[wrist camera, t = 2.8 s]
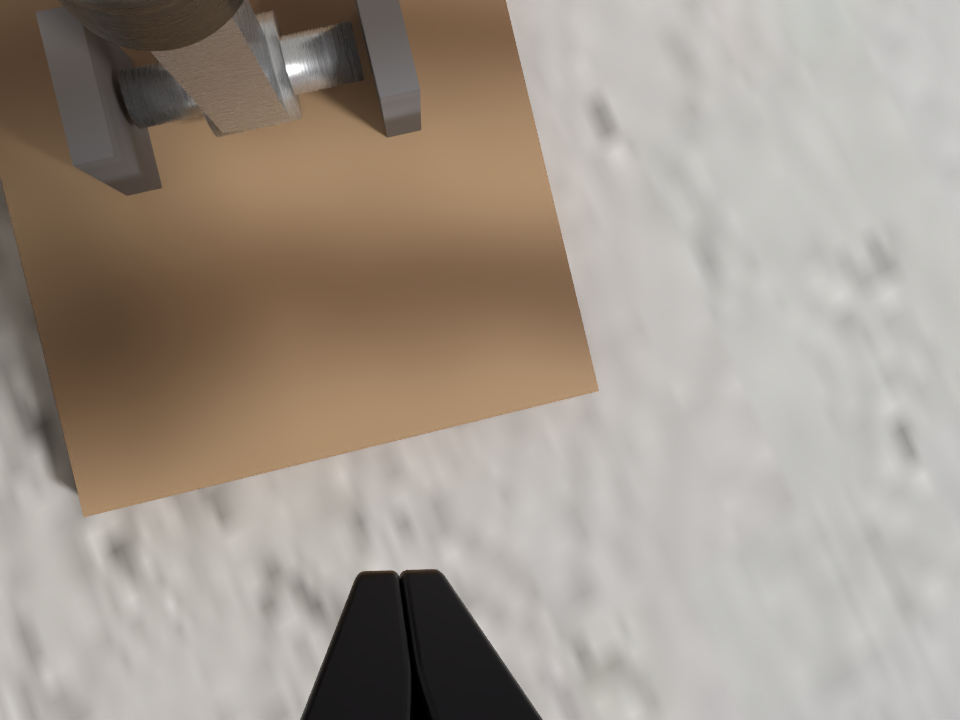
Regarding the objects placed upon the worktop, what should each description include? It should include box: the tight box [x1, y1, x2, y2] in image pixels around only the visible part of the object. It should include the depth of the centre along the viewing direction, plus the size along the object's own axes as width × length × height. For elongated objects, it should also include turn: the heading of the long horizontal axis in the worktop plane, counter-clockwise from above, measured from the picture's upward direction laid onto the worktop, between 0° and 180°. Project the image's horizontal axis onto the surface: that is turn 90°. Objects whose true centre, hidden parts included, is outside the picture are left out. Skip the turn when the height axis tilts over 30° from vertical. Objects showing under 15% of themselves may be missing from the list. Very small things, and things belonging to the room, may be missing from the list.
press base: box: [0, 0, 599, 517], centre depth 19 cm, size 19×12×4 cm, turn 13°
